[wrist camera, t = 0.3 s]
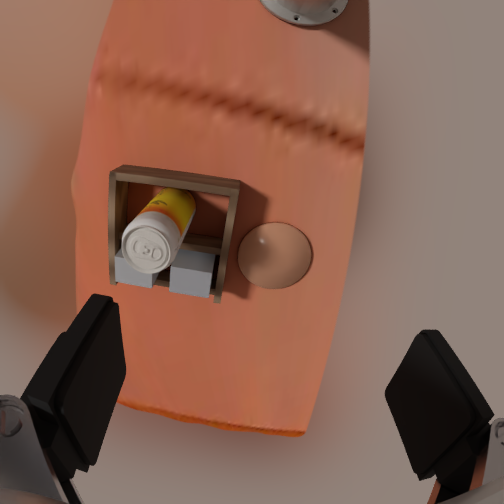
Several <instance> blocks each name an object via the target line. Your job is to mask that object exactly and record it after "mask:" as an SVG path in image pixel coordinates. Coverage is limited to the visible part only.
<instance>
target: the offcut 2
mask: <svg viewBox="0 0 504 504" xmlns="http://www.w3.org/2000/svg"><path fill="white" fill-rule="evenodd" d="M215 256H216V255H215V254H209V253H203V252H196V251H190V250H184V249H179V250H178V252H177V255H176V257H175V259H174V261H173V262H172V265H171V270H170V287H169V292H175V293H181V294H187V295H193V296H199V297H205V298H209V293H210V287H211V282H212V276H213V270H214V263H215Z"/></svg>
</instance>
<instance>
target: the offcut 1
mask: <svg viewBox="0 0 504 504" xmlns="http://www.w3.org/2000/svg"><path fill="white" fill-rule="evenodd" d="M158 274H159V272H157V273H153V274H146V273H142V272H139V271H137V270H135V269H134V268H132V267H131V266H130V265H129V264H128V263H127V261H126V260H125V258H124V256H123V253H122V248H121V249H120V250H119V251H118V253H117V254H116V255H115V281H116V282H121V283H126V284H131V285H137V286H142V287H147V288H152V287H153V285H154V283H155V280H156V278H157V276H158Z"/></svg>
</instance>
